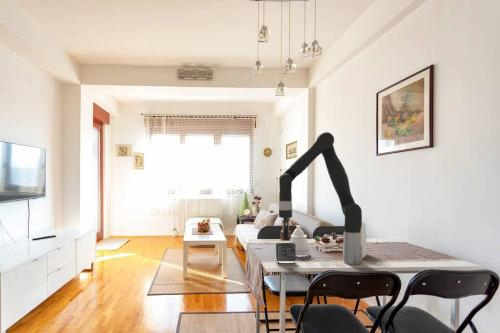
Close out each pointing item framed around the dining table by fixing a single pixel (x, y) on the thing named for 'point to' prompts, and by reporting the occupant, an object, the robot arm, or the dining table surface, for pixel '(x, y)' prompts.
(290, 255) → the small box
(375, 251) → the dining table surface
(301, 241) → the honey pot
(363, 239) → the milk
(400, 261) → the dining table surface
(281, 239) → the walnut cube
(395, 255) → the dining table surface
